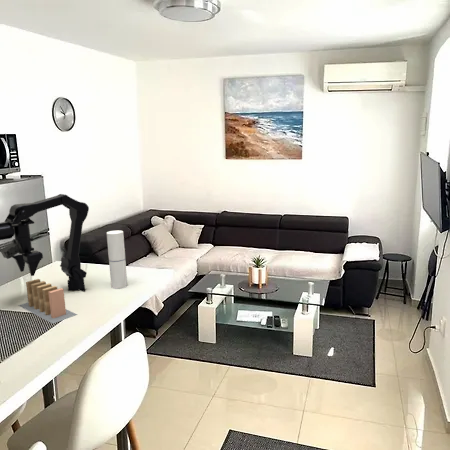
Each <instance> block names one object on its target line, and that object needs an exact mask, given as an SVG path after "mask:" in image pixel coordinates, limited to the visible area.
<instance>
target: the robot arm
mask: <svg viewBox="0 0 450 450" xmlns="http://www.w3.org/2000/svg"><path fill="white" fill-rule="evenodd" d="M59 206H63V207H64V208H66V209H67V210H68V212H69V213H68V215H69V218H70V230H69V236H68V245H67V251H66V254H65V257H61V259H60V265H59V267H60V268H61V271H62V272H63V273H64V274H65V275H66V276H67V277H68V280H67V288H68V291H70V292H71V291H73V292H74V291H75V292H76V291H81V292H85V291H86V285H85V278H86V277H87V271H85V270H84V269H83V268H81V267H82V266H81V265H82V264H81V260H80V255H79V254H80V249H81V247H80V246H81V240H82V232H83V231H82V230H83V223H84V222H85V220H86V219H87V217H88V214H89V210H90V209H89V206H88V204H87V203H86V202H82V201H78V200H76V199H74V198H72V197H71V196H69V195H67V194H63V193H60V194H57V195H55V196H51V197H48V198H44V199H40V200H37V201H34V202H29V203H28V202H27V203H26V202H25V203H16V204H13V205H11V206H10V208H9V213H8V215H7V217H6V218H5V220H4V221H3V222H0V241H4V240H10V239H12V238H13V237H14V238H13V239H12V241H11V242H12V243H11V244H8V245H7V246H4V247H3V248H1V249H0V253H1V255H2V257H3V258H4V259H7V260H9V259H11V258H12V259H14V260H15V262H16V264H17V266H18V269H19V271H20V272H21V273H22V272H24V271H25V265H26V264H27V266H28V270H29V274H30V276H31V277H34V276H35V275H36V271H37V268H38V266H39V264H40V263H41V261H42V260H43V259H44V255H43V252H41V251H38V250H35V248H34V247H33V246H32V241H34V238H33V237H31V230H30V225H32V224H35V221H34V220H32V219H31V218H32V217H33V216H34V215H35V214H37V213H39V212H43V211H47V210H49V209H52V208H56V207H59Z"/></svg>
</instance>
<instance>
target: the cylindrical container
mask: <svg viewBox="0 0 450 450" xmlns="http://www.w3.org/2000/svg"><path fill="white" fill-rule="evenodd" d="M124 235H125V234H124V231H123V230H120V229H119V230H109V231H107V232H106V242H107V253H108V264H109V277H110V287H111V288H112V289H113V290H114V289H115V290H117V289H124V288H126V287H128V276H127V265H126V264H127V263H126V251H125V250H126V248H125V238H124Z"/></svg>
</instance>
